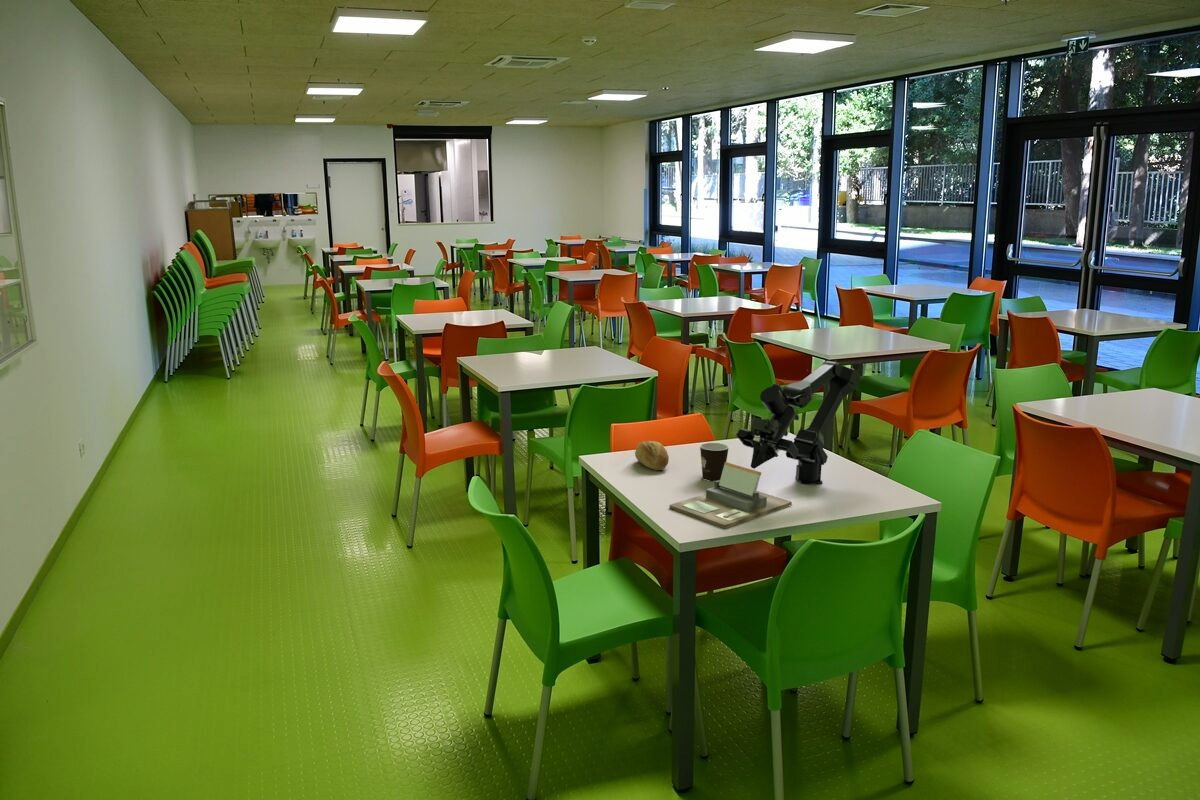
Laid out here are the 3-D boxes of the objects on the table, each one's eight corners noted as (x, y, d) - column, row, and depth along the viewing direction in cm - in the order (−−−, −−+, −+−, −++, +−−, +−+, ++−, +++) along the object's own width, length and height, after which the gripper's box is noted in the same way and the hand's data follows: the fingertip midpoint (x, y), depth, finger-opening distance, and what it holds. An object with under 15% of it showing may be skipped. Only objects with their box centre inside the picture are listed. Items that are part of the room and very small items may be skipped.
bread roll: (646, 474, 268) (647, 449, 267) (628, 461, 282) (628, 437, 280) (675, 471, 272) (675, 446, 270) (655, 458, 285) (656, 434, 284)
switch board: (736, 487, 256) (737, 470, 255) (791, 505, 241) (792, 487, 240) (669, 508, 238) (669, 490, 237) (724, 528, 224) (725, 509, 222)
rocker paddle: (720, 486, 245) (726, 462, 246) (755, 498, 236) (762, 472, 236) (717, 486, 245) (723, 461, 245) (752, 497, 235) (759, 472, 235)
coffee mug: (728, 482, 260) (729, 450, 258) (699, 482, 261) (700, 450, 259) (725, 471, 272) (726, 440, 270) (697, 470, 272) (698, 439, 270)
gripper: (741, 401, 250) (714, 444, 245) (794, 412, 236) (766, 459, 231) (757, 423, 257) (731, 466, 252) (810, 436, 243) (783, 481, 238)
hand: (752, 467), depth 243 cm, fingers closed
